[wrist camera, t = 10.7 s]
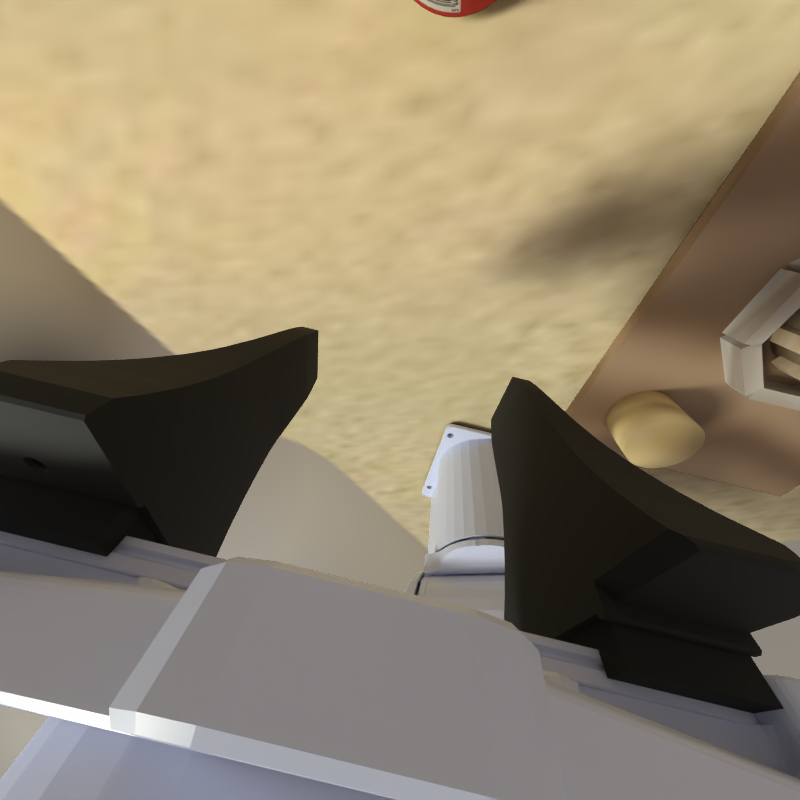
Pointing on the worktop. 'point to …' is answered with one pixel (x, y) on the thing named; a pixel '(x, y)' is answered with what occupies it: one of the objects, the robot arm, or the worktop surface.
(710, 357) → the board
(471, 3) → the beverage can
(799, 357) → the planet gear
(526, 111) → the worktop surface
